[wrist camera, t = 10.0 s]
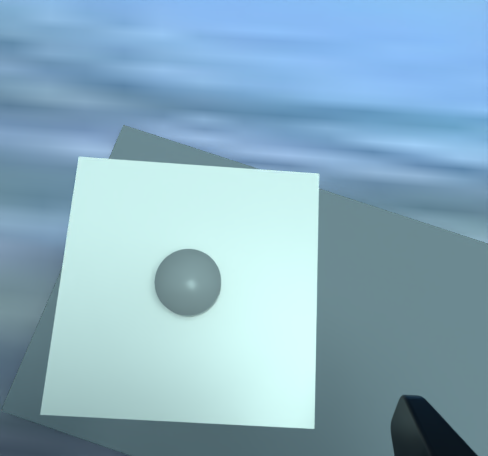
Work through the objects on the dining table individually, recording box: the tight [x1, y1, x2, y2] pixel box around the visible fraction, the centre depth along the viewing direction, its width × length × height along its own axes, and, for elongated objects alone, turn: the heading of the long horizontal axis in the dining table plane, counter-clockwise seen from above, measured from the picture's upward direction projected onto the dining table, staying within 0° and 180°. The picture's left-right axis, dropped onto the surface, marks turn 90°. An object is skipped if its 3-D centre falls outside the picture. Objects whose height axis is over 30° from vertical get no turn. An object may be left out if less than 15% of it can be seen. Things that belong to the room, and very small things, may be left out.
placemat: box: [1, 125, 488, 456], centre depth 21 cm, size 22×14×1 cm, turn 72°
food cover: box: [40, 157, 319, 429], centre depth 16 cm, size 7×7×10 cm
